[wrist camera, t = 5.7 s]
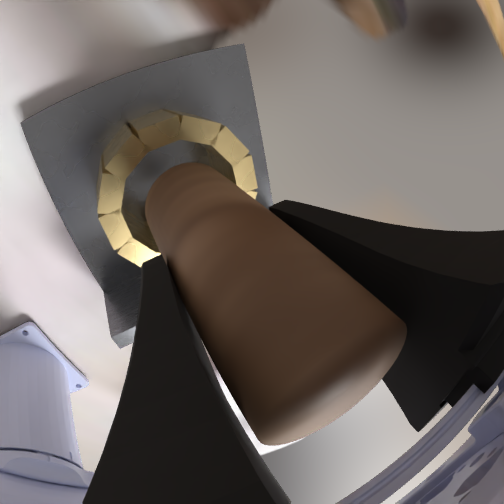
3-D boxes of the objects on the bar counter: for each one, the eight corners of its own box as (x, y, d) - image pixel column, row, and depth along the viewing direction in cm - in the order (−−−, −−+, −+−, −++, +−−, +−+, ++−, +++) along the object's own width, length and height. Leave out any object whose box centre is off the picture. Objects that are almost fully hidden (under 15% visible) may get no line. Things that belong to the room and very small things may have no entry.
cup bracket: (109, 292, 18) (119, 348, 15) (24, 120, 11) (-4, 135, 7) (269, 219, 22) (311, 255, 18) (236, 45, 14) (285, 36, 10)
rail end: (168, 259, 13) (279, 455, 6) (129, 191, 10) (228, 417, 4) (239, 218, 13) (396, 372, 7) (212, 146, 11) (418, 282, 4)
